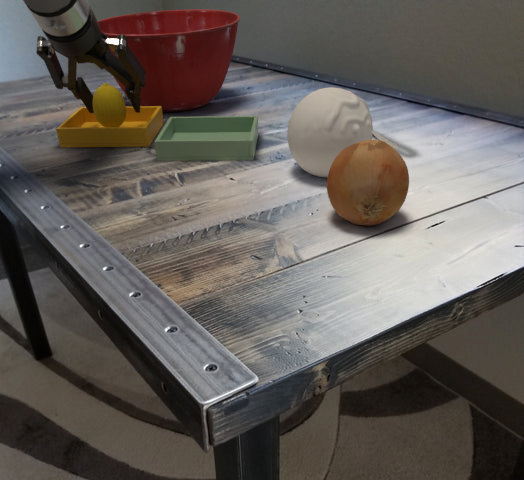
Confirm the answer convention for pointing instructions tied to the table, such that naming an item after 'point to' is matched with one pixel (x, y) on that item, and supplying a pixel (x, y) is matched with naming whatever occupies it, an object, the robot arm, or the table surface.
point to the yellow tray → (111, 129)
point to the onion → (368, 182)
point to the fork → (384, 140)
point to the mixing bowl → (178, 53)
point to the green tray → (208, 138)
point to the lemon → (109, 106)
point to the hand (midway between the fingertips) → (115, 105)
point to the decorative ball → (327, 128)
